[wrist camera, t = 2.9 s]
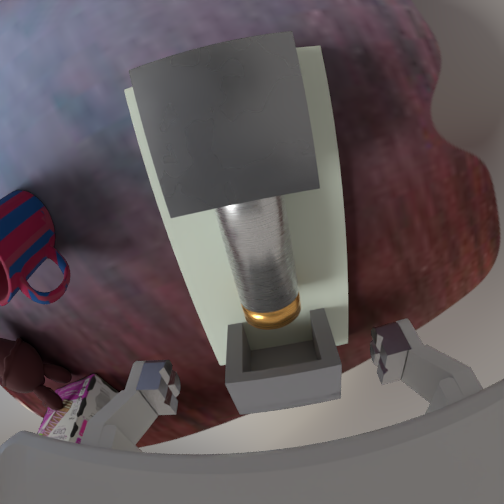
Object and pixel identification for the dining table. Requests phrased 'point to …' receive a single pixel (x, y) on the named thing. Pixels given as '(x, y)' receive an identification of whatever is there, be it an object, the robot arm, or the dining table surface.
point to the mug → (27, 247)
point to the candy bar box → (76, 408)
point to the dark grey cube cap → (227, 123)
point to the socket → (283, 370)
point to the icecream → (30, 372)
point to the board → (301, 230)
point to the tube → (261, 260)
